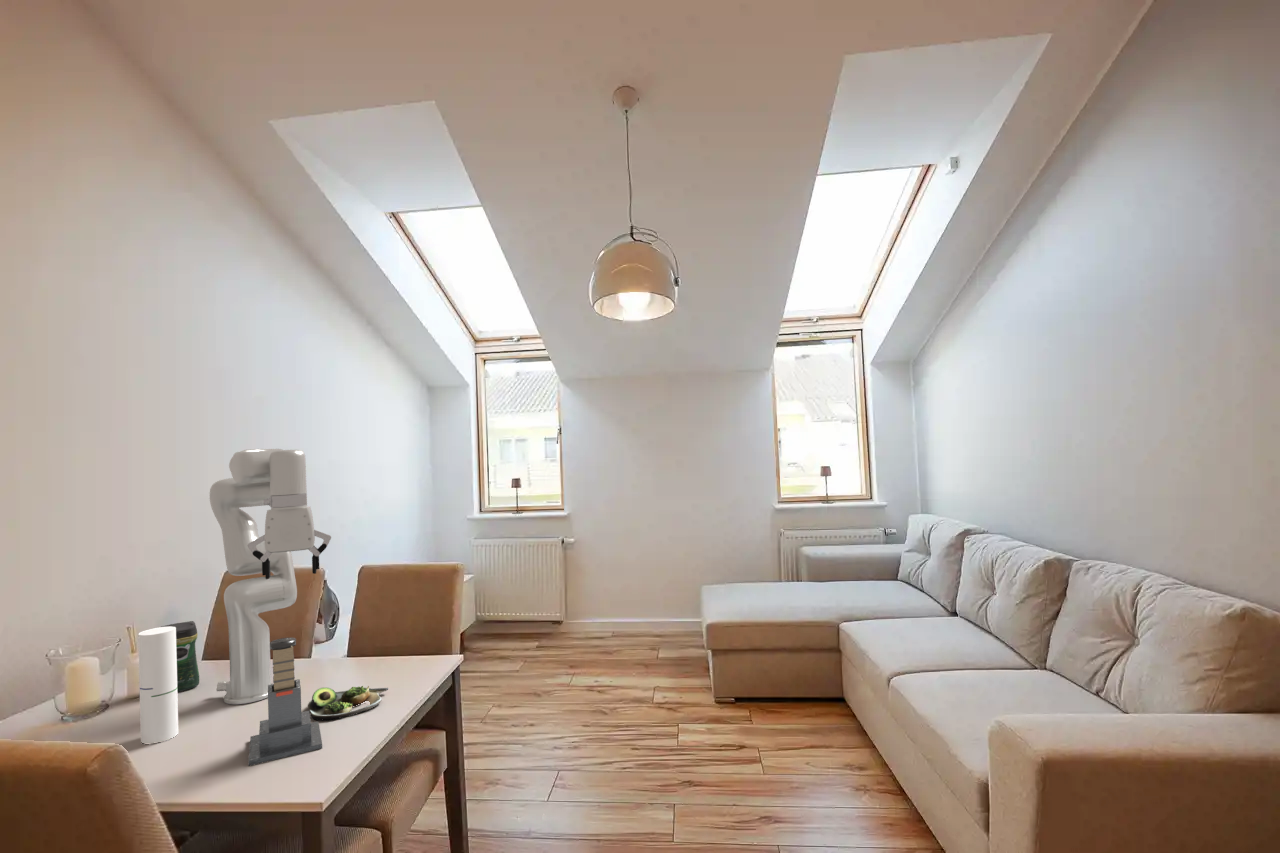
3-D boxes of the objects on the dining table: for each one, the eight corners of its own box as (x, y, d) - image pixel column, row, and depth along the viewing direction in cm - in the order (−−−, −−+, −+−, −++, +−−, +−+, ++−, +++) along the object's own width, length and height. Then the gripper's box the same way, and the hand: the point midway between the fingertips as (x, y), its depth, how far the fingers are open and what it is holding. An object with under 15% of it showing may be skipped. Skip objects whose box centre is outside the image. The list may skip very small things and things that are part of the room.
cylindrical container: (153, 732, 156) (151, 627, 157) (185, 729, 157) (182, 625, 158) (133, 745, 149) (130, 636, 150) (166, 743, 150) (163, 634, 150)
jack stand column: (272, 746, 143) (269, 646, 143) (272, 737, 147) (269, 640, 148) (299, 740, 146) (296, 641, 146) (298, 731, 150) (295, 636, 151)
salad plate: (382, 686, 182) (381, 669, 182) (397, 706, 167) (396, 688, 167) (304, 704, 171) (304, 686, 171) (313, 727, 156) (312, 708, 156)
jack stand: (248, 766, 137) (246, 703, 137) (250, 740, 149) (249, 683, 149) (322, 748, 144) (320, 689, 144) (318, 725, 156) (316, 671, 156)
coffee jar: (198, 680, 191) (197, 617, 192) (200, 688, 185) (198, 622, 185) (157, 689, 185) (156, 624, 186) (158, 697, 179) (156, 629, 180)
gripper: (244, 506, 146) (246, 583, 145) (329, 500, 153) (332, 573, 152) (248, 504, 153) (251, 577, 152) (330, 498, 160) (332, 568, 159)
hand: (291, 575), depth 152 cm, fingers open, 9 cm apart
